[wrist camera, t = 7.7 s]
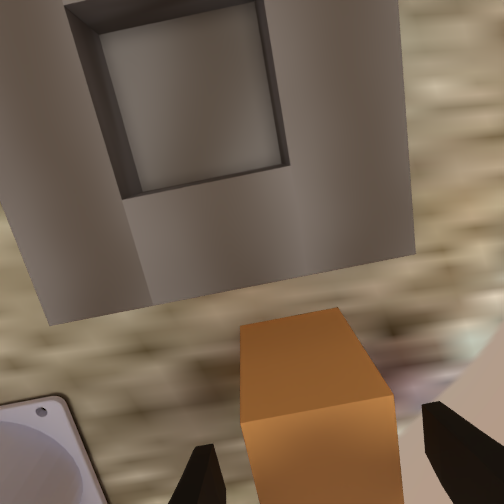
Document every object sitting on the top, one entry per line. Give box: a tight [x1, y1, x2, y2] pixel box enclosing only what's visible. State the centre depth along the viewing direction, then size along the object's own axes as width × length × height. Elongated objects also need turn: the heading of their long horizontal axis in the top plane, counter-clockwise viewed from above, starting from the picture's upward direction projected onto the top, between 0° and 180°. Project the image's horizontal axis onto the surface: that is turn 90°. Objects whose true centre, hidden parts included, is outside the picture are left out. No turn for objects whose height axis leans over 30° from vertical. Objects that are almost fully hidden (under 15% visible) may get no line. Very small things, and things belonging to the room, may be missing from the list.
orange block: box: [240, 307, 404, 504], centre depth 14 cm, size 4×4×6 cm
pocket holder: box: [0, 0, 416, 326], centre depth 12 cm, size 13×13×3 cm
